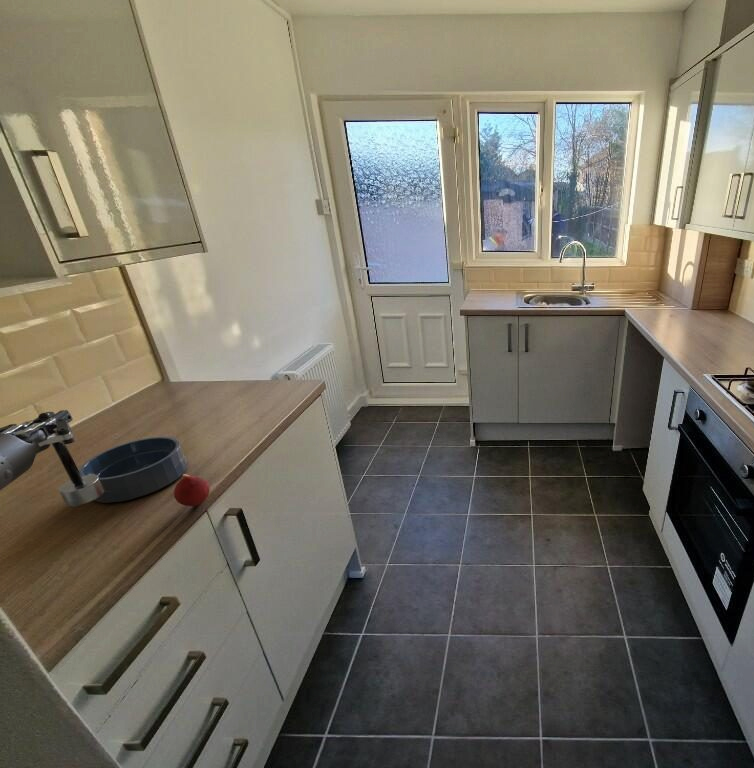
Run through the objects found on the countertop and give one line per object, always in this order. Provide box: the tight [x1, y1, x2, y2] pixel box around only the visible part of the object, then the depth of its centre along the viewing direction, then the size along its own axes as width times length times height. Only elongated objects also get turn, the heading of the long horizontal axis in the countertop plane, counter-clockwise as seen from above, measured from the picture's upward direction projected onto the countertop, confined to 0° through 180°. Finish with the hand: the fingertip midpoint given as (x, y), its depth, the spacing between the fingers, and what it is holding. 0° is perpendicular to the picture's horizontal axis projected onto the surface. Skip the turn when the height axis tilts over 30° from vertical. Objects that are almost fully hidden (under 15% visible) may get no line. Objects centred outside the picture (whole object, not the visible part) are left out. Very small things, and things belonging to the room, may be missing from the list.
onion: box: [173, 473, 211, 508], centre depth 86 cm, size 6×6×8 cm
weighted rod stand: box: [37, 412, 105, 507], centre depth 72 cm, size 5×5×17 cm
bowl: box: [78, 436, 188, 504], centre depth 95 cm, size 17×17×6 cm
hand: (59, 415), depth 72 cm, fingers closed on weighted rod stand, 1 cm apart
